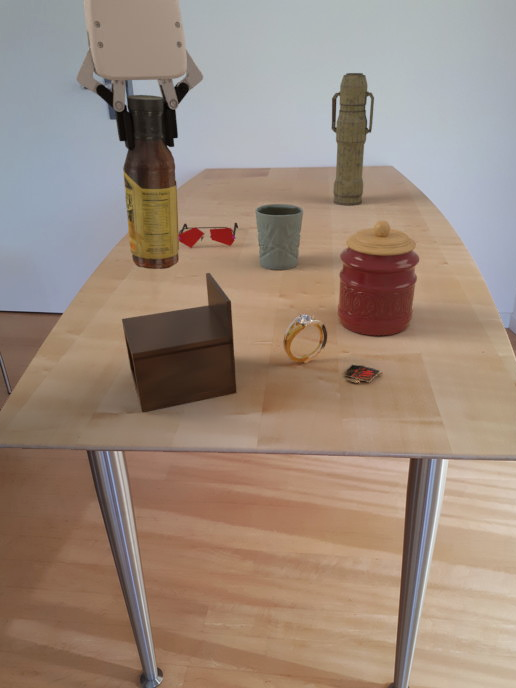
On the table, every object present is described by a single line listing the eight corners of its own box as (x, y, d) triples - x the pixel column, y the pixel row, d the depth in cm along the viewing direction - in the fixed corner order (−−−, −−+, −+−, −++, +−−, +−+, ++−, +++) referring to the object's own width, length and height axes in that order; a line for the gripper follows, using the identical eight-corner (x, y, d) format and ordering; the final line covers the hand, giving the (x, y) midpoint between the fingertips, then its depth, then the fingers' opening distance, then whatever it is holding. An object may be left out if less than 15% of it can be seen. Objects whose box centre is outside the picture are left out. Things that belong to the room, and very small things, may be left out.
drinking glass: (247, 263, 122) (245, 209, 116) (279, 252, 128) (279, 200, 122) (280, 274, 116) (279, 218, 110) (311, 262, 122) (312, 208, 116)
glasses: (178, 249, 131) (175, 228, 129) (186, 229, 146) (184, 210, 143) (236, 248, 132) (235, 227, 129) (238, 228, 146) (237, 209, 143)
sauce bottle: (138, 254, 75) (126, 92, 65) (183, 257, 75) (178, 96, 65) (125, 270, 69) (109, 95, 59) (174, 273, 69) (167, 99, 59)
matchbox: (349, 365, 83) (349, 362, 83) (383, 370, 81) (383, 368, 81) (342, 381, 79) (342, 378, 79) (377, 386, 78) (377, 384, 77)
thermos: (329, 197, 174) (334, 72, 156) (367, 199, 172) (376, 72, 154) (326, 204, 166) (331, 74, 148) (365, 206, 165) (375, 74, 147)
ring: (288, 371, 82) (288, 323, 78) (280, 361, 84) (279, 314, 80) (330, 362, 84) (332, 315, 80) (321, 353, 87) (322, 306, 82)
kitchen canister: (427, 326, 94) (441, 224, 85) (367, 344, 89) (375, 238, 80) (379, 300, 104) (388, 206, 95) (322, 315, 99) (326, 217, 90)
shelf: (142, 412, 73) (125, 317, 66) (131, 373, 82) (115, 285, 75) (236, 392, 77) (231, 301, 70) (216, 357, 86) (209, 272, 79)
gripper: (198, -38, 61) (209, 138, 71) (38, -45, 56) (74, 146, 65) (216, -48, 55) (226, 147, 64) (39, -56, 50) (78, 156, 59)
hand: (149, 144), depth 65 cm, fingers closed on sauce bottle, 4 cm apart
